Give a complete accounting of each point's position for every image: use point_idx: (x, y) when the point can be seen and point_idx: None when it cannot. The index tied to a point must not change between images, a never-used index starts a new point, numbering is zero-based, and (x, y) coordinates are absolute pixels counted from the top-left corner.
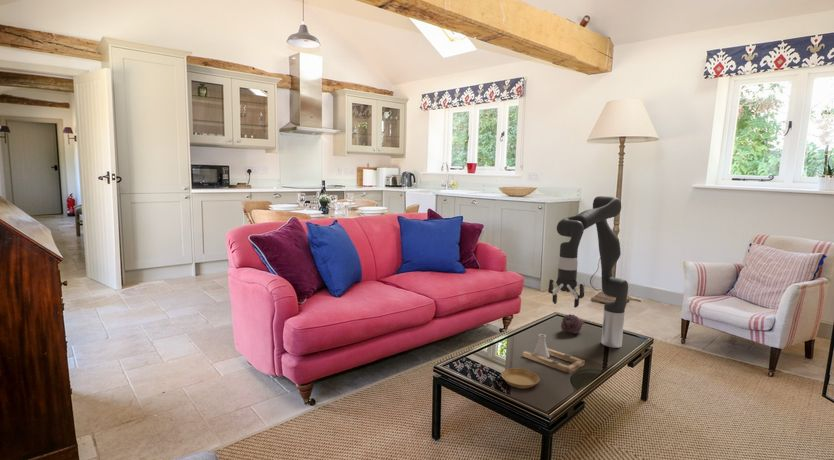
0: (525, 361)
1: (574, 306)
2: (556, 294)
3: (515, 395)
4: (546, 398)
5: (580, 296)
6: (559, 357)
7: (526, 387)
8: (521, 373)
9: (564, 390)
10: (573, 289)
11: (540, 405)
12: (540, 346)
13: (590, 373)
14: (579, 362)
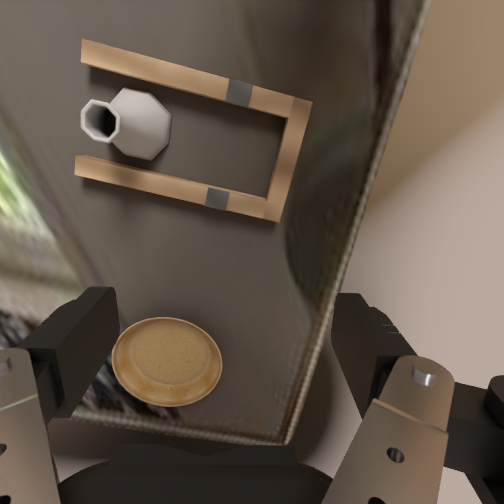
0: (115, 212)
1: (337, 347)
2: (47, 372)
3: (194, 416)
4: (260, 392)
5: (483, 480)
6: (206, 96)
7: (202, 383)
8: (154, 320)
9: (289, 334)
10: (377, 491)
11: (258, 424)
12: (124, 144)
13: (339, 174)
14: (297, 139)
